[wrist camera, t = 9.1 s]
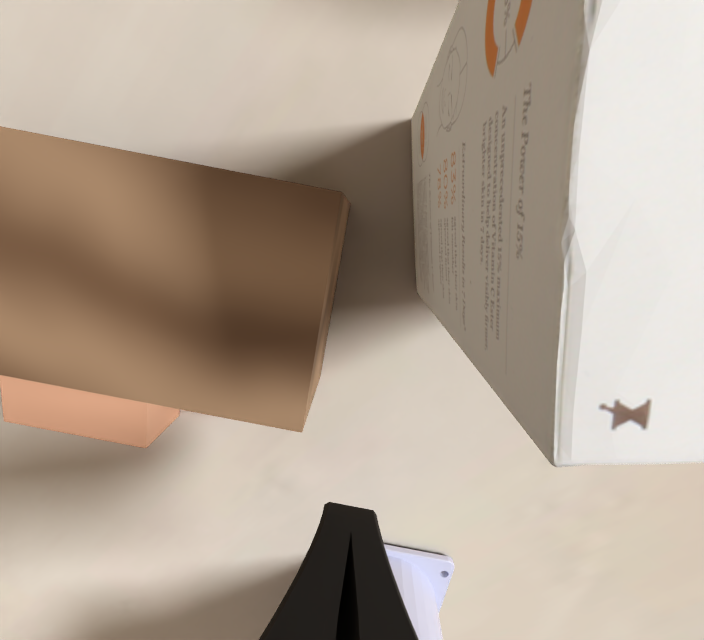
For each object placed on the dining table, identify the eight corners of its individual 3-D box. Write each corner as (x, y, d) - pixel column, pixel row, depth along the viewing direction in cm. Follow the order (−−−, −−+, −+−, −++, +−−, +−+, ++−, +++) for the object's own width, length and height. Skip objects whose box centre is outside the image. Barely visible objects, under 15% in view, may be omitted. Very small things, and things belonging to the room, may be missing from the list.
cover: (179, 415, 19) (146, 448, 17) (58, 392, 19) (3, 421, 17) (187, 277, 17) (150, 287, 14) (51, 251, 17) (-13, 256, 14)
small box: (546, 286, 17) (1096, 468, 4) (414, 295, 17) (543, 484, 4) (559, 98, 15) (1755, -715, 2) (409, 113, 15) (620, -482, 2)
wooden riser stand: (320, 376, 18) (301, 432, 13) (-83, 299, 18) (-252, 326, 13) (350, 203, 16) (341, 191, 11) (-112, 114, 16) (-332, 62, 11)
